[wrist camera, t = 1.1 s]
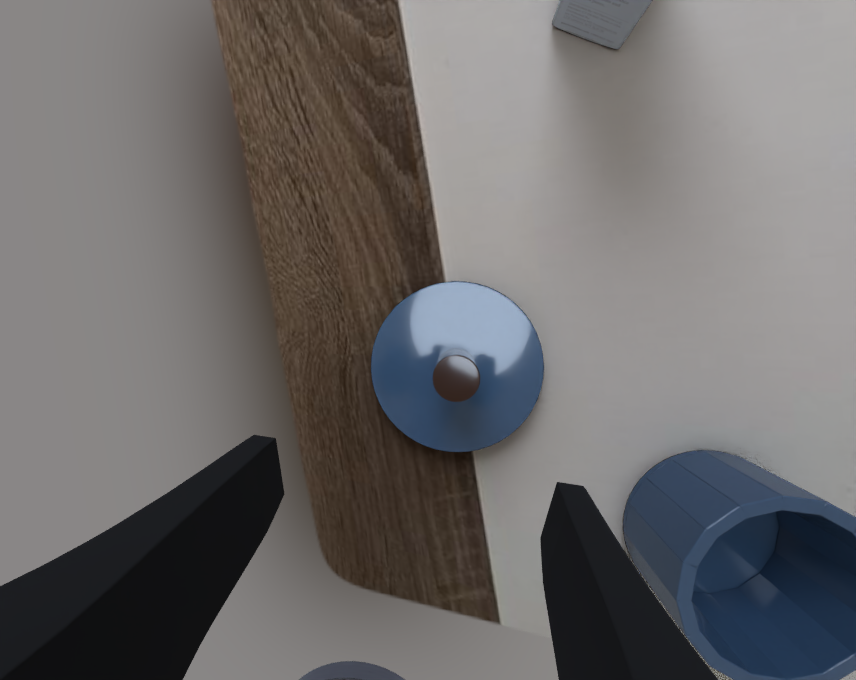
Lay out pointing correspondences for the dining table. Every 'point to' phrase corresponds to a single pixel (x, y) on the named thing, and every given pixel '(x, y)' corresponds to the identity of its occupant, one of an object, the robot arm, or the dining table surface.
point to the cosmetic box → (600, 19)
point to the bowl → (747, 566)
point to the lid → (457, 366)
